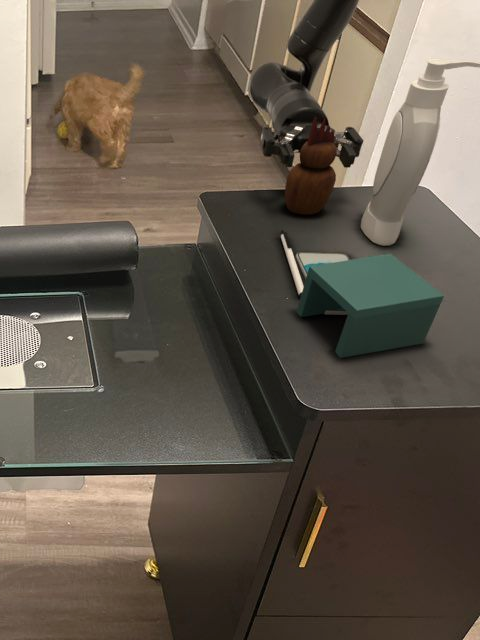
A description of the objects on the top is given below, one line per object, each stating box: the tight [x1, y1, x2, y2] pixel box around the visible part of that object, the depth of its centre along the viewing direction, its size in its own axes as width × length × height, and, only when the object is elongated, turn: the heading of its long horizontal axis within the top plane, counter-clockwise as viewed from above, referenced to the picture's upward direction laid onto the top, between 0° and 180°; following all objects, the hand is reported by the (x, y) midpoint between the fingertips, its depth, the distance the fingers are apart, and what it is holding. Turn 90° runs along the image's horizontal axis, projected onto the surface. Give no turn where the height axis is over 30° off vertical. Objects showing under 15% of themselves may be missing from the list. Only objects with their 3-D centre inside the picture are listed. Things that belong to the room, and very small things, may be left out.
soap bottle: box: [360, 58, 480, 247], centre depth 101 cm, size 13×8×24 cm, turn 164°
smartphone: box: [295, 251, 351, 316], centre depth 99 cm, size 7×1×15 cm
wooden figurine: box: [284, 117, 337, 216], centre depth 110 cm, size 7×6×15 cm
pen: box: [279, 229, 304, 299], centre depth 102 cm, size 1×19×1 cm, turn 170°
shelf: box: [296, 253, 445, 359], centre depth 89 cm, size 11×10×7 cm
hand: (320, 161), depth 108 cm, fingers open, 8 cm apart
